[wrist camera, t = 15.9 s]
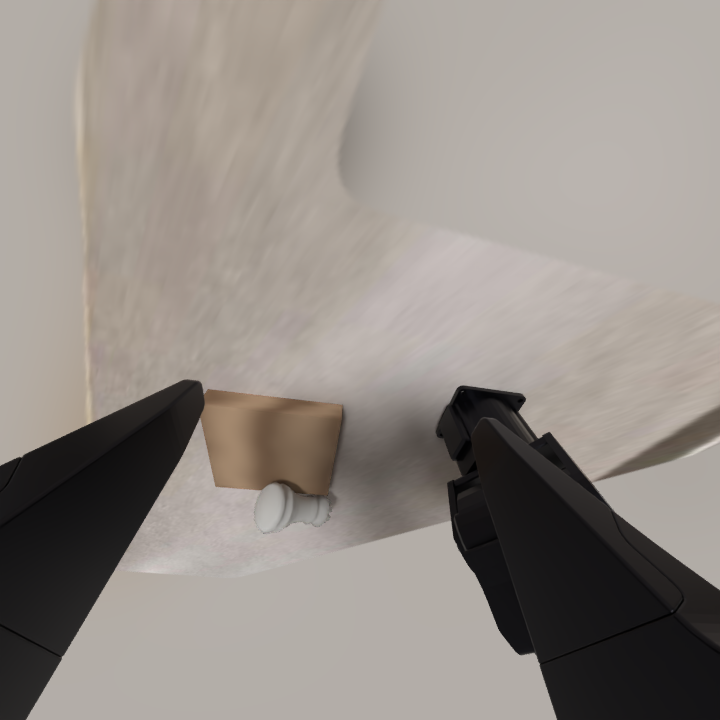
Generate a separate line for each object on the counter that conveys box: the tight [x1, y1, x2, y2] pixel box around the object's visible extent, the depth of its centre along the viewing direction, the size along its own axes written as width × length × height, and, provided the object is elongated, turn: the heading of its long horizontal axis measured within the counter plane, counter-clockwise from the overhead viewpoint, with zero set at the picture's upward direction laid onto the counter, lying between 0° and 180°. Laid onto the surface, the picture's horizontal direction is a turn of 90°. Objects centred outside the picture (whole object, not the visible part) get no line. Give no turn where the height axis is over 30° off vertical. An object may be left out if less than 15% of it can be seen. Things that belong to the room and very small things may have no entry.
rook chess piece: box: [254, 482, 332, 534], centre depth 28 cm, size 4×4×8 cm
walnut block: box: [200, 389, 343, 496], centre depth 26 cm, size 12×12×2 cm
